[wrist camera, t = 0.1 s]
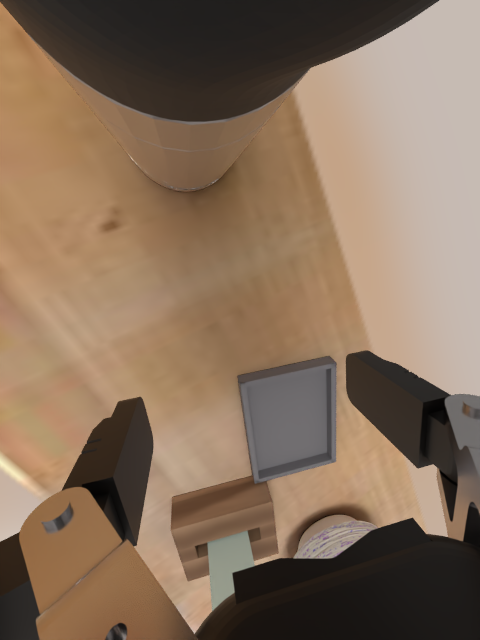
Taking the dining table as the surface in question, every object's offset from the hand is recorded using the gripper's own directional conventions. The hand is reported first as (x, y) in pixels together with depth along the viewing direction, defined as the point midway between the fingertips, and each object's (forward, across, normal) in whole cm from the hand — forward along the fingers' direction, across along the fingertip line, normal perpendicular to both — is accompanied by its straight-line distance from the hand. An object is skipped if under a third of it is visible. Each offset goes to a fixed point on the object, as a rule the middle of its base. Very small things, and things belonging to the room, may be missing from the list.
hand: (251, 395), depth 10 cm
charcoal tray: (+18, -7, +16) cm, 26 cm away
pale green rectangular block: (+18, +3, +29) cm, 35 cm away
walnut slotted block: (+19, +3, +29) cm, 35 cm away
